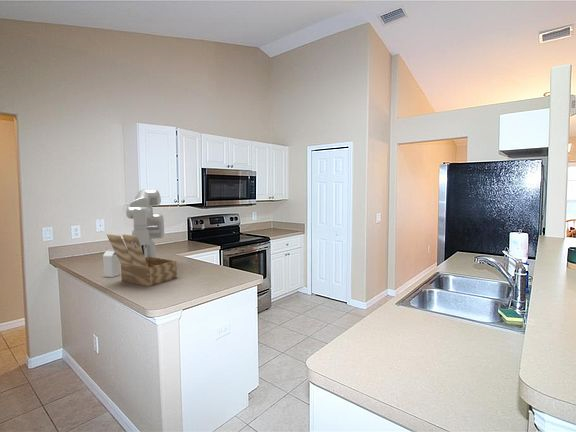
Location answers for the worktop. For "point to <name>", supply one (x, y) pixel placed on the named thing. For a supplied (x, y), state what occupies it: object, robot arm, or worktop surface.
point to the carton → (150, 272)
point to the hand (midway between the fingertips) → (141, 256)
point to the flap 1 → (120, 249)
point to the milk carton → (110, 263)
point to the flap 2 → (135, 251)
